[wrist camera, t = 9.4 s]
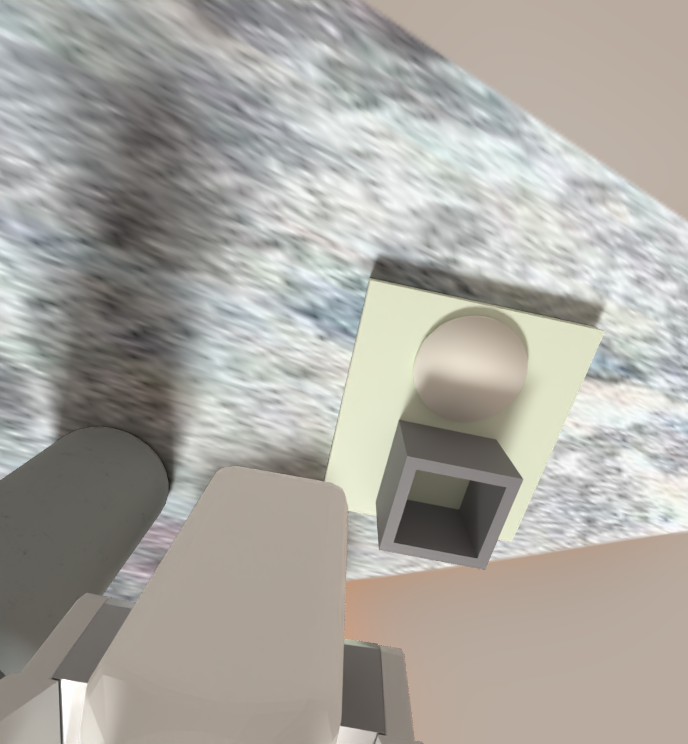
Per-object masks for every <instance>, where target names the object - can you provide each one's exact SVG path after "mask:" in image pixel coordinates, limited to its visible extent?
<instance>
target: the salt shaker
mask: <svg viewBox="0 0 688 744" xmlns="http://www.w3.org/2000/svg"><path fill="white" fill-rule="evenodd" d="M347 532H348V504H347V500H346V496H345V493H344V491H343V489H342V488H340V487H338V486H337V485H335V484H333V483H331V482H325V481H319V480H314V479H308V478H303V477H297V476H291V475H286V474H280V473H274V472H269V471H263V470H257V469H252V468H246V467H240V466H230V467H223V468H221V469H220V470H218V471H217V472H216V473H215V475H214V476H213V478H212V479H211V481H210V483H209V484H208V486H207V488H206V489H205V491H204V492H203V494H202V496H201V497H200V499H199V501H198V502H197V504H196V506H195V507H194V509H193V510H192V512H191V514H190V515H189V517H188V519H187V520H186V522H185V523H184V525H183V527H182V528H181V530H180V532H179V533H178V535H177V537H176V538H175V540H174V541H173V543H172V545H171V546H170V548H169V550H168V551H167V553H166V555H165V556H164V558H163V559H162V561H161V563H160V564H159V566H158V568H157V569H156V571H155V572H154V574H153V576H152V577H151V579H150V581H149V582H148V584H147V586H146V587H145V589H144V590H143V592H142V594H141V595H140V597H139V599H138V600H137V602H136V604H135V605H134V607H133V608H132V610H131V612H130V613H129V615H128V617H127V618H126V620H125V621H124V623H123V625H122V626H121V628H120V630H119V631H118V633H117V635H116V636H115V638H114V639H113V641H112V643H111V644H110V646H109V648H108V649H107V651H106V653H105V654H104V656H103V657H102V659H101V661H100V662H99V664H98V666H97V667H96V669H95V670H94V672H93V674H92V675H91V677H90V679H89V681H88V684H87V687H86V691H85V699H84V706H83V714H82V722H81V729H80V744H337V739H338V734H339V729H340V724H341V718H342V687H343V656H344V625H345V623H344V622H345V592H346V563H347Z"/></svg>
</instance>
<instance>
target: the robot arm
mask: <svg viewBox="0 0 688 744" xmlns="http://www.w3.org/2000/svg"><path fill="white" fill-rule="evenodd" d="M135 604H136V602H131V601H126V600H122V599H117V598H112V597H107V596H102V595H96V594H91V593H86V594H84V595H83V596H82V597H80V598H79V599H78V600H77V601H76V602H75V604H74V605H73V606H72V607H71V609H70V610H69V611H68V612H67V614H66V615H65V616H64V618H63V619H62V620H61V621H60V623H59V624H58V625H57V627H56V628H55V629H54V630H53V632H52V633H51V634H50V635H49V637H48V638H47V639H46V641H45V642H44V643H43V644H42V646H41V647H40V648H39V650H38V651H37V652H36V653H35V655H34V656H33V657H32V658H31V660H30V661H29V662H28V664H27V665H26V666H25V667H24V669H23V670H22V671H21V673H20V674H19V673H10V674H8V675H7V676H5V677H3V678H2V679H0V744H80V729H81V722H82V714H83V706H84V699H85V691H86V687H87V684H88V681H89V679H90V677H91V675H92V674H93V672H94V670H95V669H96V667H97V666H98V664H99V662H100V661H101V659H102V657H103V656H104V654H105V653H106V651H107V649H108V648H109V646H110V644H111V643H112V641H113V639H114V638H115V636H116V635H117V633H118V631H119V630H120V628H121V626H122V625H123V623H124V621H125V620H126V618H127V617H128V615H129V613H130V612H131V610H132V608H133V607H134V605H135ZM337 744H423V743H422V742H420V741H415V738H414V730H413V722H412V713H411V706H410V697H409V688H408V680H407V672H406V664H405V656H404V653H403V651H402V649H400V648H394V647H388V646H382V645H378V644H375V643H369V642H363V641H356V640H350V639H344V656H343V687H342V718H341V724H340V729H339V734H338V739H337Z"/></svg>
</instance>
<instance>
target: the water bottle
mask: <svg viewBox="0 0 688 744" xmlns="http://www.w3.org/2000/svg"><path fill="white" fill-rule="evenodd" d="M168 486H169V483H168V478H167V474H166V470H165V468H164V466H163V463H162V461H161V460H160V459H159V457H158V456H157V454H156V453H155V452H154V451H153V450H152V449H151V448H150V447H149V446H148V445H147V444H146V443H144V442H143V441H142V440H140V439H139V438H137V437H136V436H134V435H132V434H130V433H128V432H125V431H122V430H119V429H115V428H109V427H87V428H83V429H78V430H76V431H73V432H71V433H69V434H67V435H65V436H64V437H62V438H61V439H59V440H58V441H57V442H55V443H54V444H52V445H51V446H49V447H48V448H46V449H45V450H43V451H42V452H41V453H39V454H38V455H36V456H35V457H33V458H32V459H30V460H29V461H28V462H26V463H25V464H23V465H22V466H20V467H19V468H17V469H16V470H15V471H13V472H12V473H10V474H9V475H7V476H6V477H4V478H3V479H2V480H0V679H2V678H3V677H5V676H7V675H8V674H10V673H19V674H20V673H21V671H22V670H23V669H24V667H25V666H26V665H27V664H28V662H29V661H30V660H31V658H32V657H33V656H34V655H35V653H36V652H37V651H38V650H39V648H40V647H41V646H42V644H43V643H44V642H45V641H46V639H47V638H48V637H49V635H50V634H51V633H52V632H53V630H54V629H55V628H56V627H57V625H58V624H59V623H60V621H61V620H62V619H63V618H64V616H65V615H66V614H67V612H68V611H69V610H70V609H71V607H72V606H73V605H74V604H75V602H76V601H77V600H78V599H79V598H80V597H82V596H83V595H84V594H86V593H91V594H96V595H103V594H104V592H105V591H106V590H107V588H108V587H109V585H110V584H111V582H112V581H113V580H114V578H115V577H116V575H117V574H118V572H119V571H120V570H121V568H122V567H123V565H124V564H125V562H126V561H127V560H128V558H129V557H130V555H131V554H132V553H133V551H134V550H135V548H136V547H137V545H138V544H139V543H140V541H141V540H142V538H143V537H144V535H145V534H146V533H147V531H148V530H149V528H150V527H151V526H152V524H153V523H154V521H155V520H156V518H157V517H158V516H159V514H160V513H161V511H162V509H163V507H164V506H165V504H166V500H167V496H168Z"/></svg>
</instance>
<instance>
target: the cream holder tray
mask: <svg viewBox="0 0 688 744" xmlns="http://www.w3.org/2000/svg"><path fill="white" fill-rule="evenodd" d="M604 332H605V331H603V330H601V329H598V328H595V327H593V326H589V325H584V324H580V323H575V322H570V321H566V320H561V319H557V318H552V317H548V316H543V315H538V314H534V313H529V312H525V311H520V310H515V309H511V308H506V307H502V306H497V305H492V304H488V303H483V302H479V301H474V300H469V299H465V298H460V297H456V296H451V295H446V294H442V293H437V292H433V291H428V290H424V289H419V288H414V287H410V286H405V285H401V284H396V283H391V282H387V281H382V280H378V279H373V278H369V283H368V287H367V292H366V296H365V301H364V305H363V309H362V314H361V318H360V323H359V327H358V332H357V336H356V340H355V345H354V349H353V354H352V358H351V363H350V367H349V371H348V376H347V380H346V385H345V389H344V394H343V398H342V402H341V407H340V411H339V416H338V420H337V425H336V429H335V433H334V438H333V442H332V447H331V451H330V455H329V460H328V464H327V469H326V473H325V478H324V481H325V482H331V483H333V484H335V485H337V486H338V487H340V488H342V489H343V491H344V493H345V496H346V500H347V504H348V511H352V512H358V513H363V514H368V515H373V516H377V529H378V543H379V550H383V551H388V552H394V553H399V554H404V555H410V556H415V557H420V558H425V559H431V560H436V561H441V562H446V563H452V564H457V565H462V566H468V567H473V568H478V569H483V570H485V569H486V566H487V564H488V561H489V559H490V557H491V554H492V552H493V550H494V547H495V545H496V543H497V540H503V541H508V542H512V541H513V538H514V536H515V534H516V532H517V529H518V527H519V525H520V523H521V520H522V518H523V516H524V514H525V511H526V509H527V507H528V505H529V502H530V500H531V498H532V495H533V493H534V491H535V489H536V486H537V484H538V482H539V480H540V477H541V475H542V473H543V471H544V468H545V466H546V464H547V461H548V459H549V457H550V455H551V452H552V450H553V448H554V446H555V443H556V441H557V439H558V437H559V434H560V432H561V430H562V428H563V425H564V423H565V421H566V418H567V416H568V414H569V412H570V409H571V407H572V405H573V403H574V400H575V398H576V396H577V394H578V391H579V389H580V387H581V384H582V382H583V380H584V378H585V375H586V373H587V371H588V369H589V366H590V364H591V362H592V360H593V357H594V355H595V353H596V351H597V348H598V346H599V344H600V341H601V339H602V337H603V335H604Z"/></svg>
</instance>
